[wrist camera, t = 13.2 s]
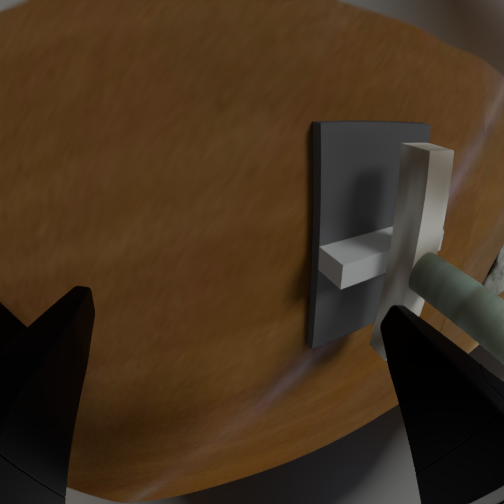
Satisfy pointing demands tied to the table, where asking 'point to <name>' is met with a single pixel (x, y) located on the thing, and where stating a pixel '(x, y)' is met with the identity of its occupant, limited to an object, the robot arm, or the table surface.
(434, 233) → the bar
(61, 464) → the robot arm
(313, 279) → the fulcrum stand
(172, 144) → the table surface
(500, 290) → the stone tool
